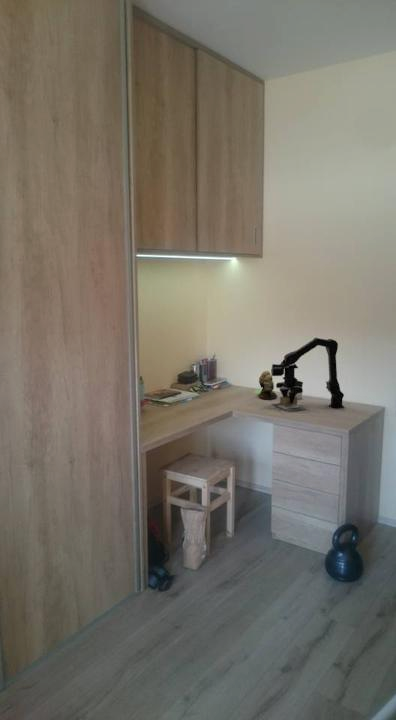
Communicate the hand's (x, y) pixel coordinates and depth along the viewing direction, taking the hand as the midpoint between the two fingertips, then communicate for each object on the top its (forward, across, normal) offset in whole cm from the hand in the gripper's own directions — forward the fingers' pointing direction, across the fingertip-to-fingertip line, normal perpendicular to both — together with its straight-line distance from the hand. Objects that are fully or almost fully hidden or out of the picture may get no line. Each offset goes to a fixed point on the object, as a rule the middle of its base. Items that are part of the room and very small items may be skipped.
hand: (288, 402), depth 305 cm
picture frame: (+3, 0, 0) cm, 3 cm away
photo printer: (+3, +16, -15) cm, 22 cm away
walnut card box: (+1, 0, 0) cm, 1 cm away
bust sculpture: (+3, +27, -3) cm, 27 cm away
